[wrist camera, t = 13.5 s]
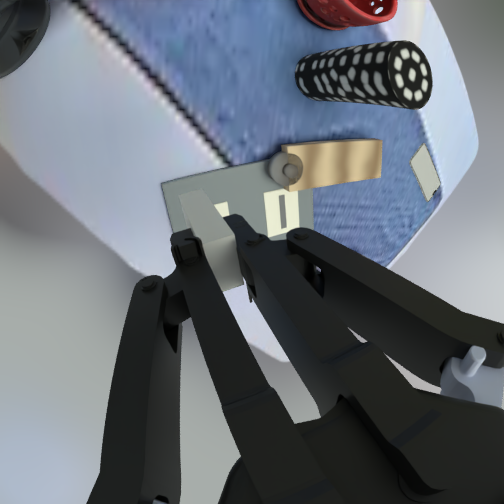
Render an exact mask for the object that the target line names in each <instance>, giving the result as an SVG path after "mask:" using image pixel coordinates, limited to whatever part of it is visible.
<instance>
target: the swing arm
mask: <svg viewBox="0 0 504 504" xmlns="http://www.w3.org/2000/svg"><path fill="white" fill-rule="evenodd" d="M281 148H282V151H281V152H277V153H276V154H274V155H273V156H272V157H271V158H270V160H269V162H268V167H267V170H268V174H269V176H270V178H271V179H272V180H274V181H275V182H277V183H279V184H280V185H283V186H284V189H285V190H287V191H288V192H293V191H299V190H304V189H310V188H316V187H322V186H328V185H334V184H340V183H346V182H353V181H359V180H366V179H373V178H380V177H381V161H382V140H379V139H375V138H370V139H345V140H329V141H316V142H304V143H294V144H285V145H281Z"/></svg>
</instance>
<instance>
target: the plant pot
mask: <svg viewBox="0 0 504 504" xmlns="http://www.w3.org/2000/svg"><path fill="white" fill-rule="evenodd" d="M297 2H298V4H299V6H300V8H301V10H302V11H303V13H304V14H305V15H306V16H307V17H308V18H309V19H310V20H311V21H313V22H314V23H316V24H317V25H319V26H321V27H323V28H326V29H330V30H343V29H346V28H348V27H349V26H352V27H357V26H368V25H374V24H378V23H382V22H386V21H388V20H390V19H392V18H393V17H394V15H395V13H396V11H397V5H398V4H397V0H382V1H380V0H297ZM372 2H374V5H373V6H371V3H372ZM379 7H383V10H382V11H381V12H380V13H378V14H375V11H376V10H377V9H378V8H379Z"/></svg>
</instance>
